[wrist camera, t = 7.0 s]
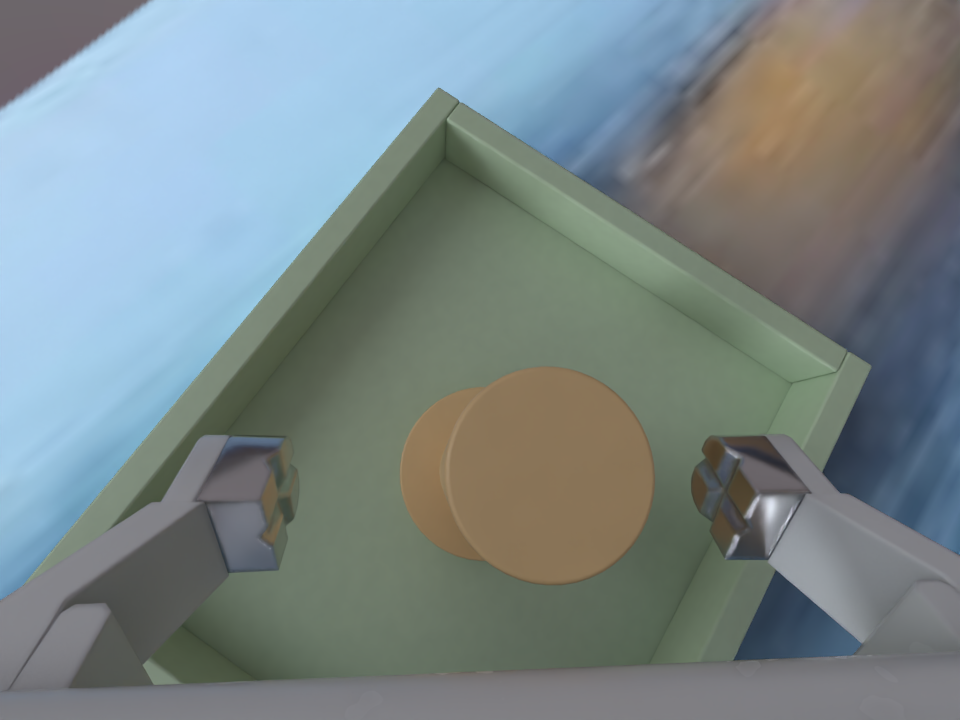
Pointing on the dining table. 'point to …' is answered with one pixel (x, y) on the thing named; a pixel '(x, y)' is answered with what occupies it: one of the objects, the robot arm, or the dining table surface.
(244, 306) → the dining table surface
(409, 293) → the tray
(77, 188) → the dining table surface
